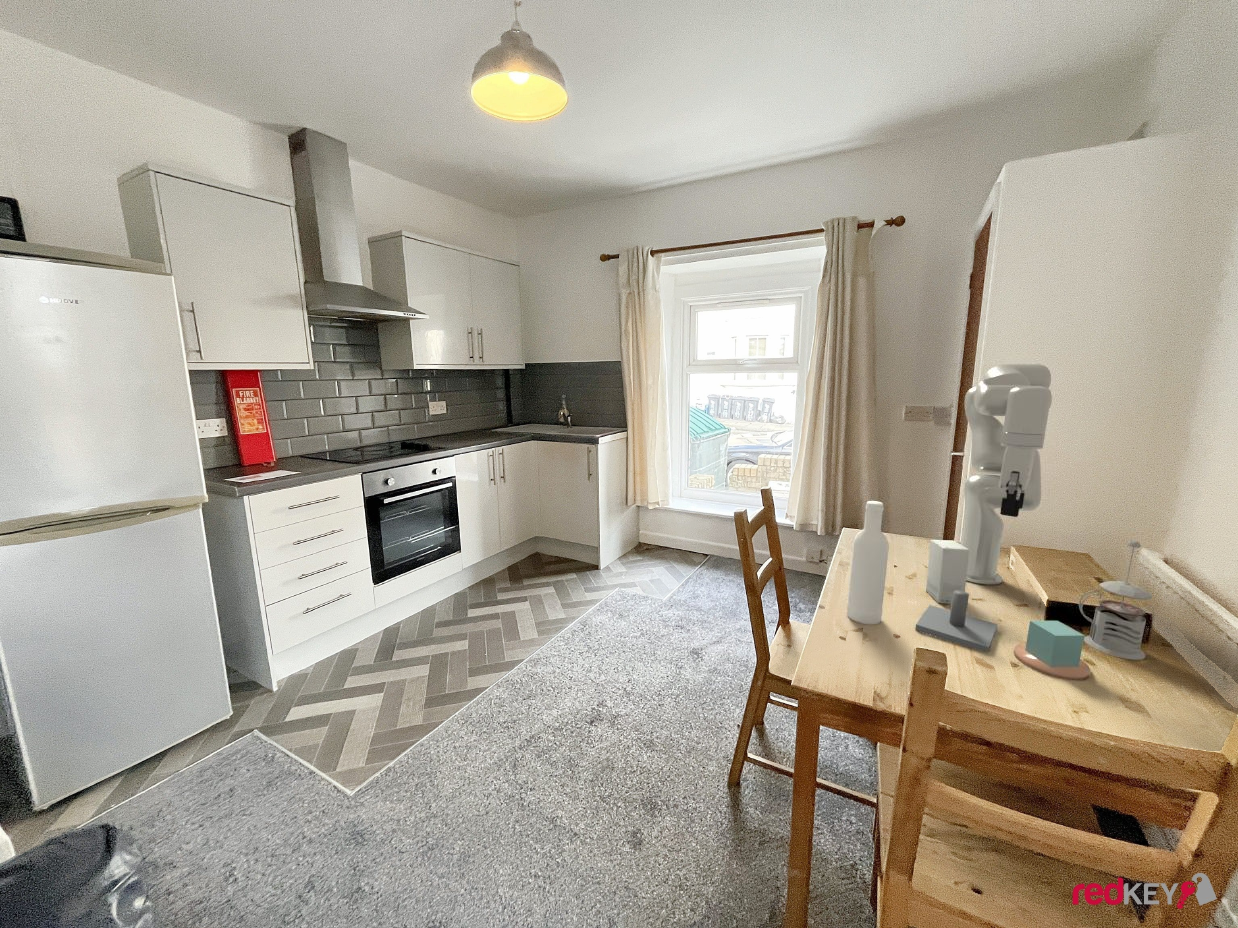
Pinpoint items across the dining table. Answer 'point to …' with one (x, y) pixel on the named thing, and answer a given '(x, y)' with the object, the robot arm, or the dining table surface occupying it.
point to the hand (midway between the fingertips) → (1011, 511)
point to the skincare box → (946, 569)
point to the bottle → (868, 568)
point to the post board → (956, 634)
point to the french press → (1118, 619)
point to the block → (1054, 643)
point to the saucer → (1059, 672)
